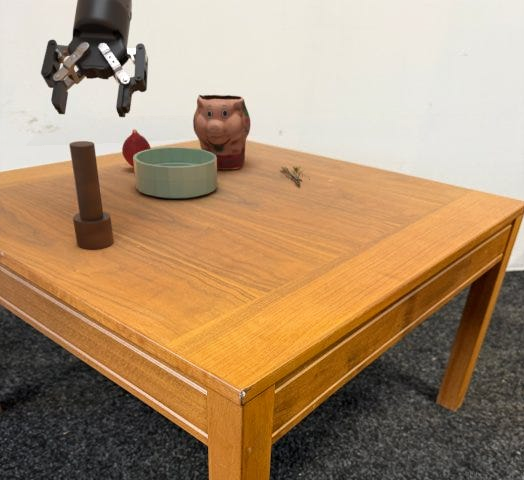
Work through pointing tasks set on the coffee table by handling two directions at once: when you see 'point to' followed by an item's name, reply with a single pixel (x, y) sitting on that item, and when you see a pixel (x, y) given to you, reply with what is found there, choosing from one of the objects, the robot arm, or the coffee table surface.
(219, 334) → the coffee table surface
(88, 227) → the pestle
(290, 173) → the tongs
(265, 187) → the coffee table surface
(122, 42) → the robot arm
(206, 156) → the bowl
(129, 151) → the onion
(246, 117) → the decorative planter
